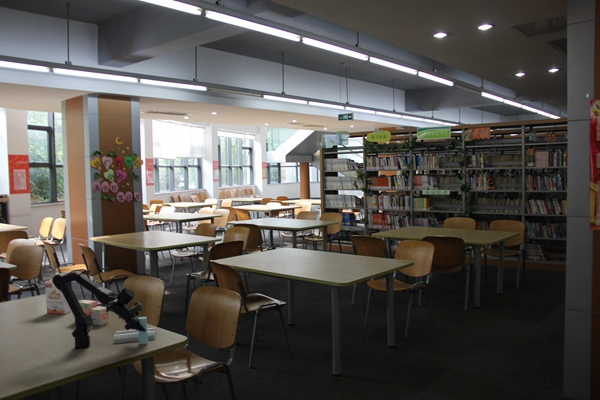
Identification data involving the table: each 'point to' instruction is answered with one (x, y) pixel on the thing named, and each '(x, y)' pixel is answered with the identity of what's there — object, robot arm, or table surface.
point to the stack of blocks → (95, 312)
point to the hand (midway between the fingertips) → (145, 330)
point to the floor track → (132, 336)
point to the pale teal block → (142, 335)
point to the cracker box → (55, 300)
